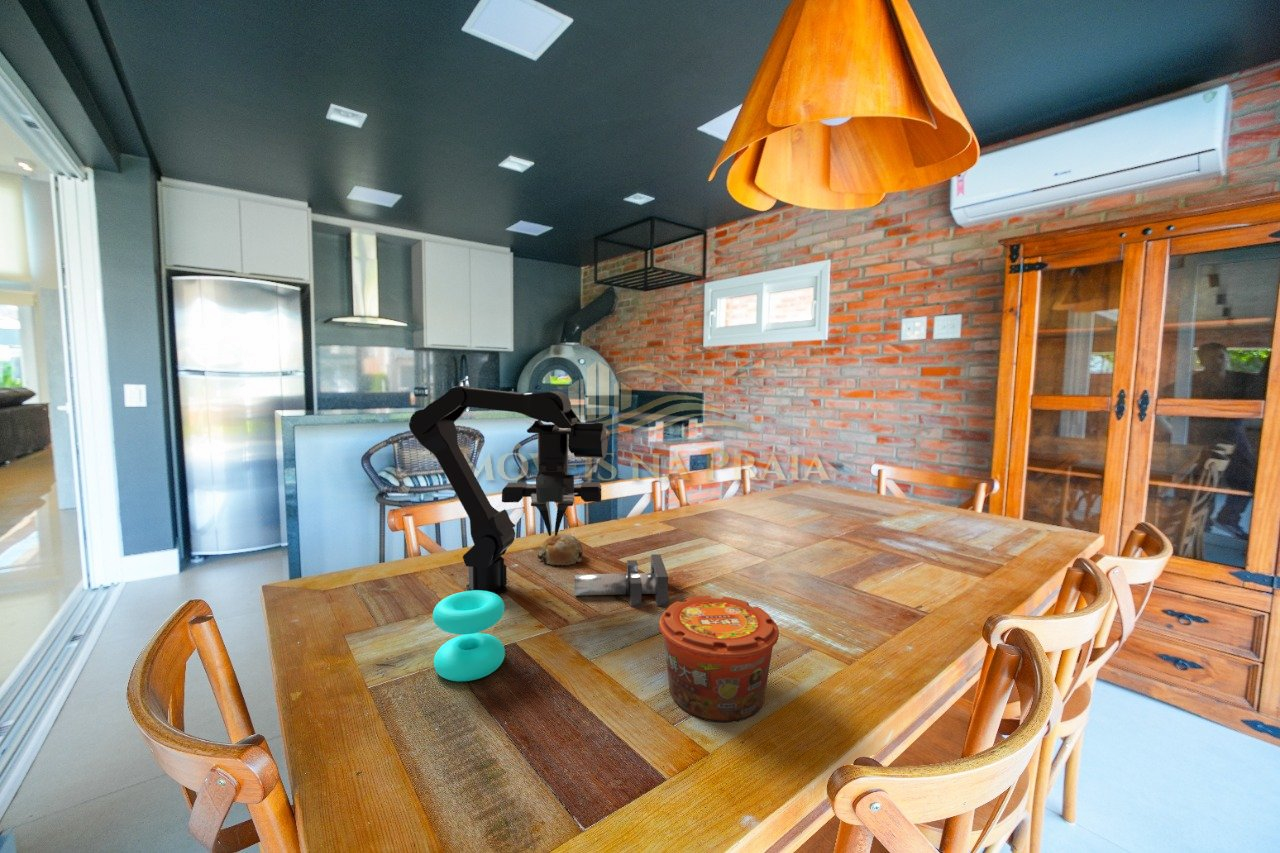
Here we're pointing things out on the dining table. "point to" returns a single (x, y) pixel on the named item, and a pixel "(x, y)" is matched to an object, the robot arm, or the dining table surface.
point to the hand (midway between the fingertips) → (553, 535)
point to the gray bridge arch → (660, 580)
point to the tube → (612, 584)
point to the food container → (718, 656)
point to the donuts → (469, 635)
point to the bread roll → (561, 550)
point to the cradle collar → (634, 584)
